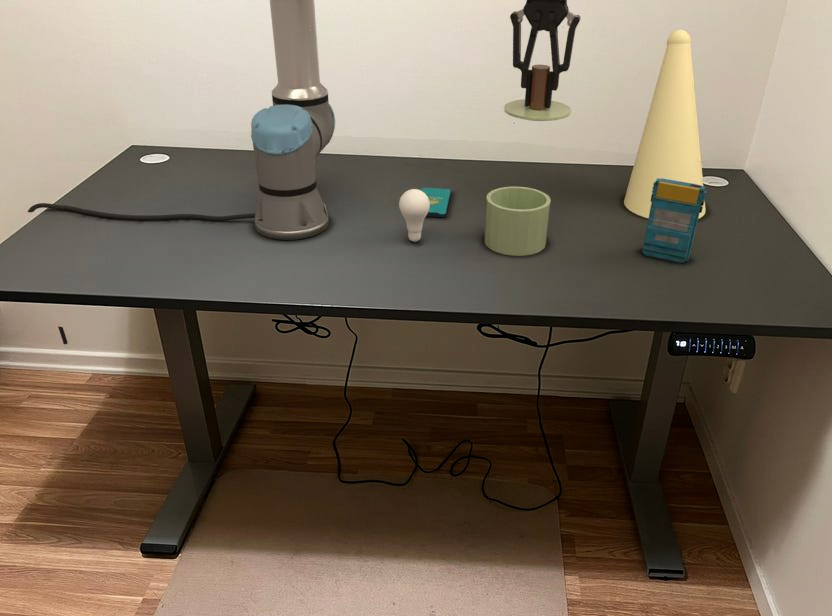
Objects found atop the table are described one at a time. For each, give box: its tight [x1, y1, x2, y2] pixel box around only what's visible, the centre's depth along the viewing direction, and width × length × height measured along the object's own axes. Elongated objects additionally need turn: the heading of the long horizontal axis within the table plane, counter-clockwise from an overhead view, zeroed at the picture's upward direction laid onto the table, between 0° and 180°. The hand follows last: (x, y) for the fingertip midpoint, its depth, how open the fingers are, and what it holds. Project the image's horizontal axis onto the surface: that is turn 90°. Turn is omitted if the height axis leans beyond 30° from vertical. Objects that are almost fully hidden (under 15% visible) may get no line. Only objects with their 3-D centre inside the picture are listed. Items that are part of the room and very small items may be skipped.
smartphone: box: [419, 187, 452, 218], centre depth 164 cm, size 7×1×15 cm
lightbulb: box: [398, 188, 430, 243], centre depth 145 cm, size 6×6×11 cm
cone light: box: [623, 29, 707, 220], centre depth 158 cm, size 25×18×35 cm
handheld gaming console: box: [641, 178, 707, 264], centre depth 140 cm, size 10×4×15 cm, turn 64°
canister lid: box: [503, 64, 572, 122], centre depth 145 cm, size 14×14×9 cm
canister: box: [483, 186, 552, 257], centre depth 146 cm, size 13×13×10 cm
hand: (537, 105), depth 146 cm, fingers closed on canister lid, 4 cm apart
